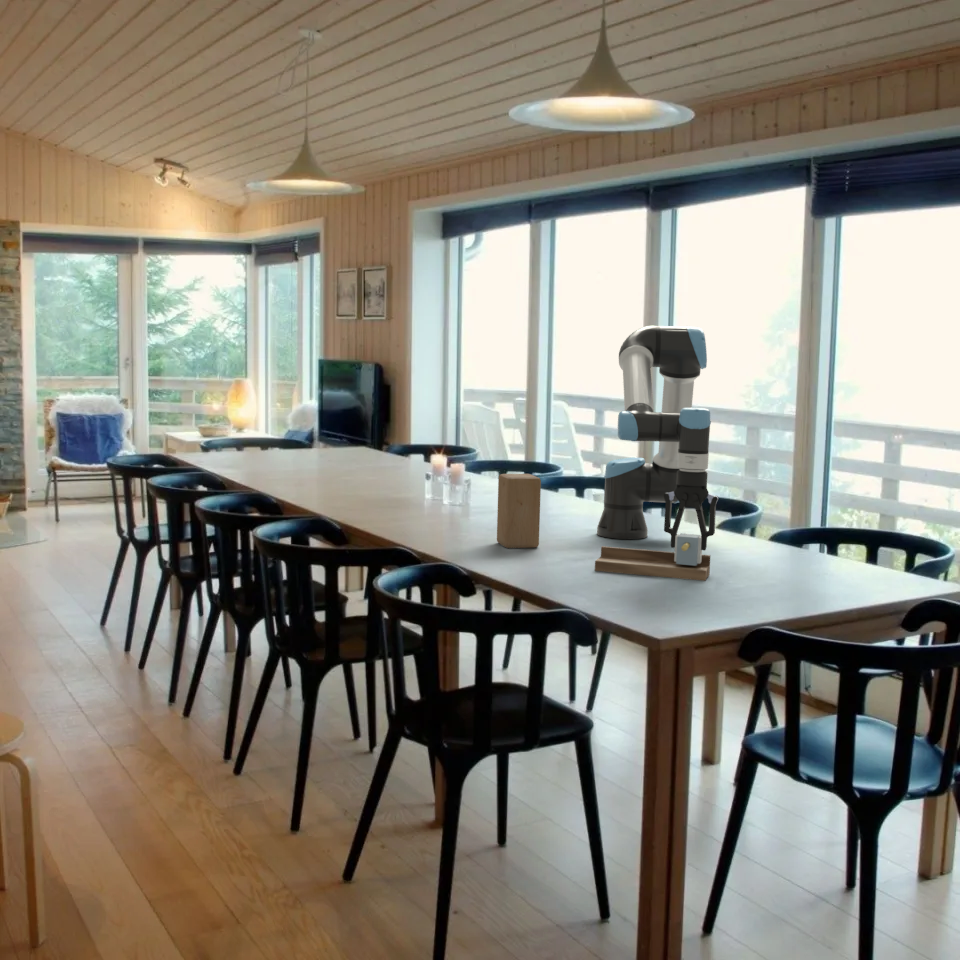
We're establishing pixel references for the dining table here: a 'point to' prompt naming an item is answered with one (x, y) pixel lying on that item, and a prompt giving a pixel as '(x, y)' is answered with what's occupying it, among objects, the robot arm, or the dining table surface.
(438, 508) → the dining table surface
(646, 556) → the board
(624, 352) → the robot arm
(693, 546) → the grey cube mallet
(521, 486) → the wooden block
